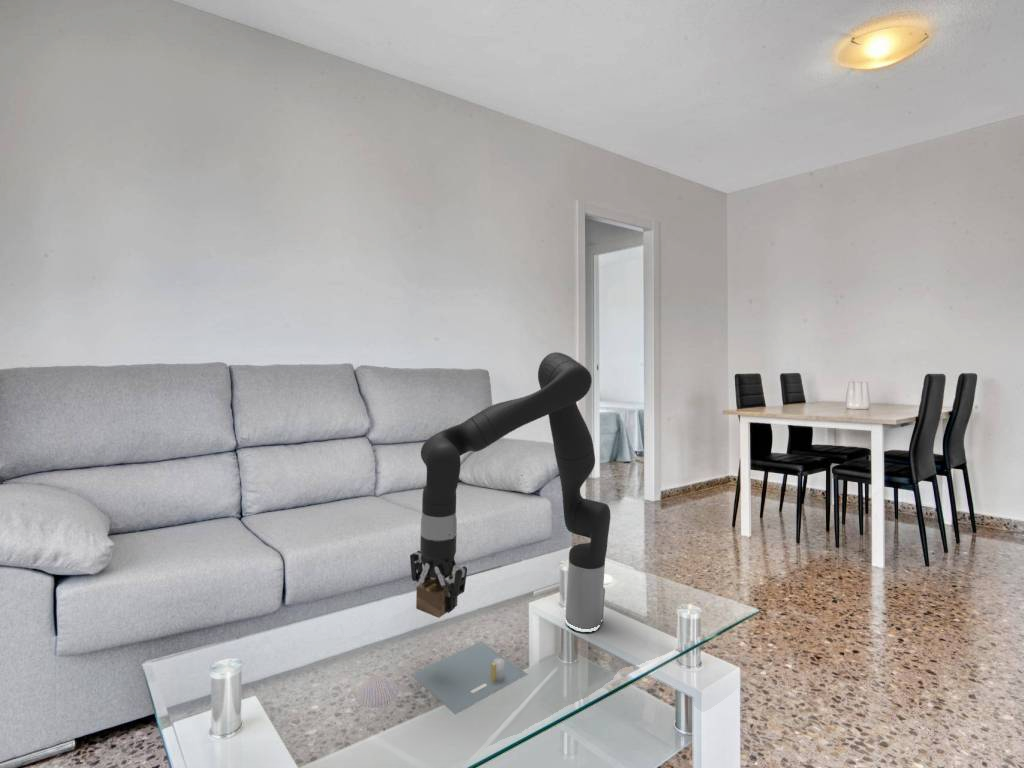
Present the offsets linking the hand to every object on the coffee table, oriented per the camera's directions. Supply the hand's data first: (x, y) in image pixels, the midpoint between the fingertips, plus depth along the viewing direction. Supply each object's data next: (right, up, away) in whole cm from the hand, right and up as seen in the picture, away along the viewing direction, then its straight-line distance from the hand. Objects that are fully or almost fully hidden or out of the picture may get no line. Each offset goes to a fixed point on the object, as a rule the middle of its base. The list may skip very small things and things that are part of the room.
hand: (437, 605), depth 127 cm
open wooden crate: (0, 0, 0) cm, 0 cm away
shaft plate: (+7, -17, +3) cm, 19 cm away
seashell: (-12, -18, -4) cm, 22 cm away
